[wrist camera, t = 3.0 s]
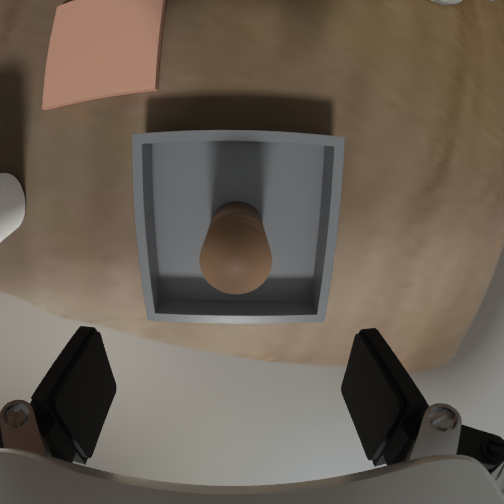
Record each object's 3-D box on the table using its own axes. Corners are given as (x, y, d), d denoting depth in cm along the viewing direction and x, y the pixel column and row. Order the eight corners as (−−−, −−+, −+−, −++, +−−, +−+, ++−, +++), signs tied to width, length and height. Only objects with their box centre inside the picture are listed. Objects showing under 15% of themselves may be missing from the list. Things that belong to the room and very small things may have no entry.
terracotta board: (169, -18, 17) (167, -23, 16) (158, 90, 22) (154, 88, 21) (62, 9, 17) (57, 6, 16) (47, 110, 21) (42, 109, 20)
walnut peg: (263, 201, 25) (274, 227, 17) (261, 250, 26) (270, 294, 19) (210, 200, 24) (198, 226, 17) (211, 250, 26) (200, 293, 18)
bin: (331, 138, 24) (344, 137, 20) (315, 302, 29) (324, 321, 26) (146, 135, 23) (132, 134, 20) (156, 301, 28) (147, 320, 25)
